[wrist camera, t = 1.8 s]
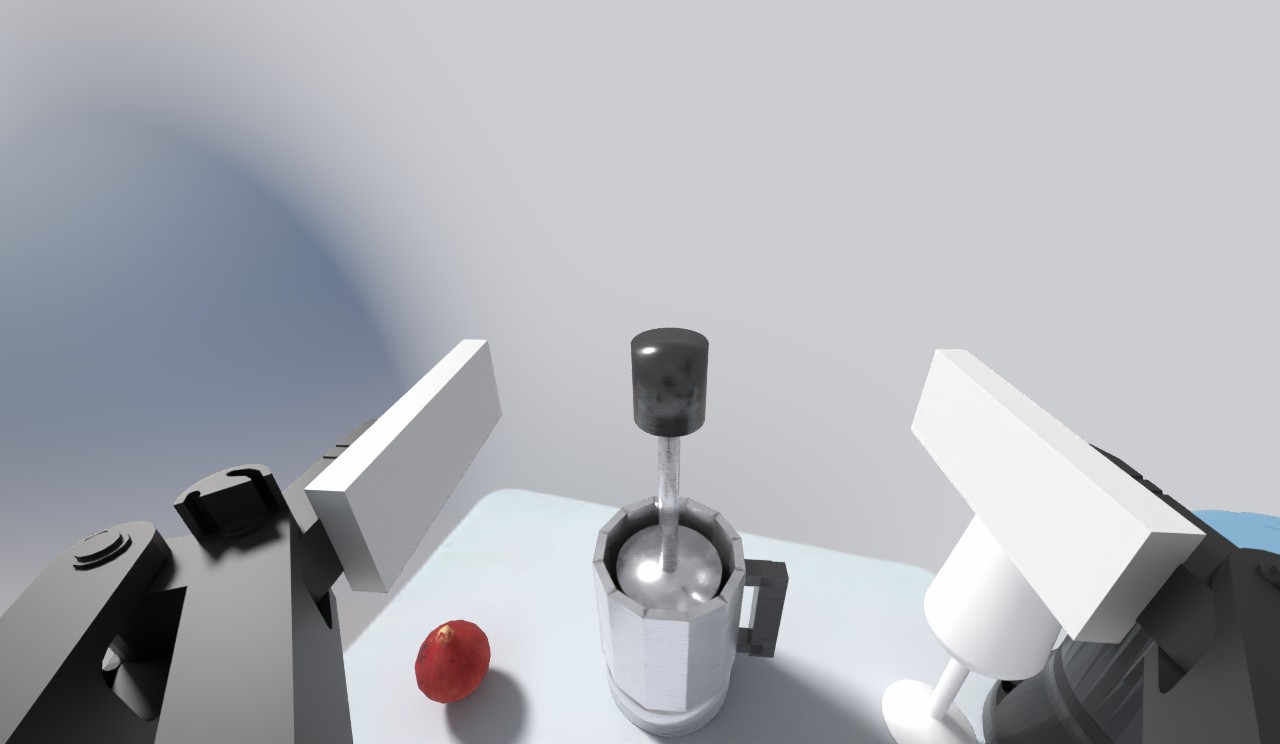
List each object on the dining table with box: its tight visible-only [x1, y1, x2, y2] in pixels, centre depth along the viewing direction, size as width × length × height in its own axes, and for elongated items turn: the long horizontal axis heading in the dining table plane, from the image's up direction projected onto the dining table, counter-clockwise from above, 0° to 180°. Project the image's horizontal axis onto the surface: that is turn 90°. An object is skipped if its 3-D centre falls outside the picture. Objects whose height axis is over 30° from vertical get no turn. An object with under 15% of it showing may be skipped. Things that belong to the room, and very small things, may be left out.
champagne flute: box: [882, 515, 1062, 744], centre depth 30 cm, size 7×7×24 cm
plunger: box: [616, 328, 722, 611], centre depth 30 cm, size 8×8×19 cm
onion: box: [415, 620, 491, 703], centre depth 38 cm, size 6×6×8 cm
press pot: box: [593, 496, 789, 737], centre depth 37 cm, size 14×11×15 cm
